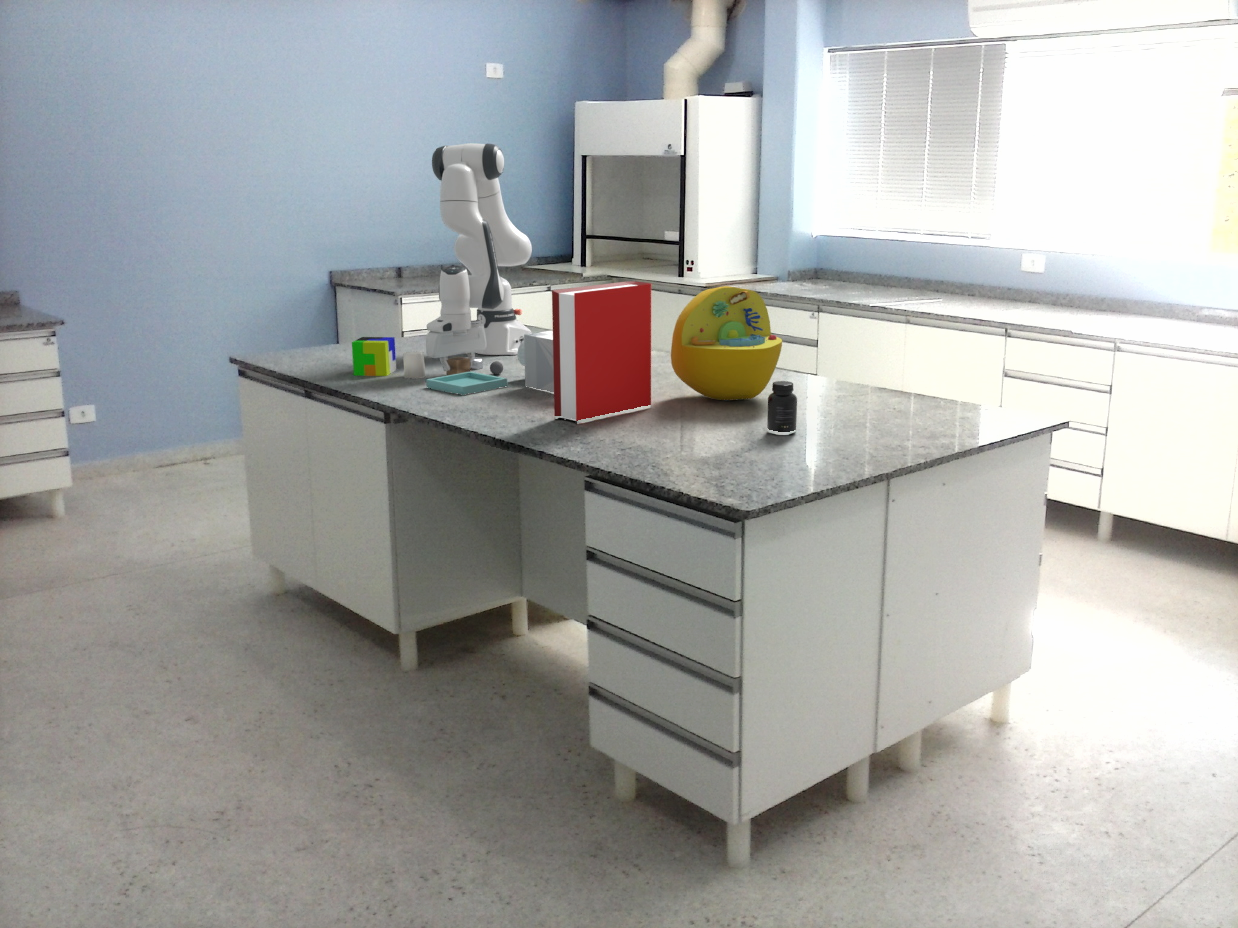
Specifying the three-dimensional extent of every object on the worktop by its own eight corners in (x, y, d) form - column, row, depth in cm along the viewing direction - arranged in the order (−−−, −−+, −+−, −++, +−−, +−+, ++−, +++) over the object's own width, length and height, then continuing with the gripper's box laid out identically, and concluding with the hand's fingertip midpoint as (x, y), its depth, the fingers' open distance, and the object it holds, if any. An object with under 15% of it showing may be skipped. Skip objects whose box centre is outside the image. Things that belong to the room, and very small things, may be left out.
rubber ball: (497, 372, 351) (497, 359, 350) (506, 374, 348) (505, 361, 347) (487, 374, 348) (486, 361, 347) (496, 376, 345) (495, 363, 344)
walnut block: (459, 373, 351) (459, 356, 350) (470, 375, 348) (469, 358, 346) (446, 375, 347) (445, 359, 346) (457, 377, 344) (456, 361, 343)
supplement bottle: (764, 429, 279) (765, 380, 276) (792, 429, 280) (794, 379, 277) (770, 436, 273) (771, 386, 270) (799, 435, 273) (800, 385, 270)
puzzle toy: (396, 370, 357) (394, 337, 354) (386, 376, 347) (384, 342, 344) (364, 369, 358) (362, 337, 355) (353, 375, 348) (351, 342, 345)
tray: (470, 379, 341) (470, 371, 340) (507, 386, 330) (507, 378, 330) (426, 387, 330) (426, 379, 329) (463, 395, 319) (462, 387, 318)
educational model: (716, 417, 292) (718, 296, 284) (649, 396, 316) (649, 284, 308) (806, 403, 307) (810, 288, 299) (736, 384, 331) (738, 277, 323)
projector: (634, 391, 324) (634, 337, 320) (581, 401, 312) (580, 345, 308) (555, 374, 349) (554, 323, 345) (503, 382, 337) (501, 330, 333)
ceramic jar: (416, 373, 350) (415, 350, 348) (429, 376, 346) (428, 353, 344) (400, 376, 346) (398, 353, 344) (412, 379, 342) (411, 355, 340)
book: (576, 425, 285) (574, 293, 277) (554, 419, 291) (551, 290, 282) (654, 407, 303) (654, 283, 295) (632, 403, 309) (632, 281, 300)
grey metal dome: (472, 365, 363) (472, 356, 363) (487, 368, 359) (487, 358, 358) (455, 368, 358) (454, 359, 358) (469, 371, 354) (469, 361, 353)
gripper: (476, 317, 353) (478, 363, 356) (421, 325, 338) (424, 372, 342) (490, 319, 349) (491, 365, 352) (435, 327, 334) (437, 375, 338)
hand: (457, 369), depth 347 cm, fingers open, 7 cm apart
